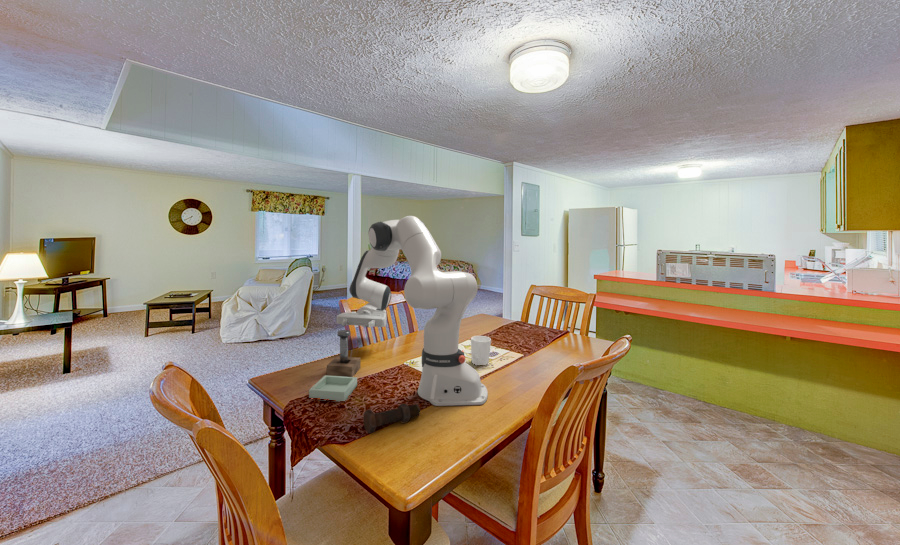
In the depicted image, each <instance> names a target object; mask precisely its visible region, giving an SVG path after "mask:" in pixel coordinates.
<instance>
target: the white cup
mask: <svg viewBox="0 0 900 545" xmlns="http://www.w3.org/2000/svg"><path fill="white" fill-rule="evenodd" d="M491 344H492V339H491V337H489V336H485V335H473V336H471V338H470V352H471V353H470V356H471V363H473V364H472V365H474V364H475V365H474V366H477V365H485V366H487V365H486V364H488V363H489V364H490V354H491V353H490V352H491ZM489 364H488V365H489Z"/></svg>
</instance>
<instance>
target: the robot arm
mask: <svg viewBox="0 0 900 545" xmlns="http://www.w3.org/2000/svg"><path fill="white" fill-rule="evenodd" d="M368 229H369V230H368V242H369V244H370V246H371V249H369V250H366V251H364V253H363V254H362V256H361V257H360V259H359V263H358V265H357V268H356V270H355V274H354V276H353V280H352V281H351V283H350V286H349V288H348V289H349V290H348V291H349V294H350V295H351V297H352V298H355V299H359V300H362V301H365V302H366V304H365V305H363V306H362V307H360V308H359V309H358V310H357V311H356V312H342V313H340V314H337V315H336V324H337V325H341V326H342V327H347V326H358V327H360V326H361V327H363V328H372V327H374V328H375V327H376V328H385V327H386V326H387V316H388V315H387V310H386V309H387V308H388V306H389V304H390V302H391V299H392V291H391V288H390V287H389V286H388V285H386V284H384V283H380V282H377V281H374V280H373V279H369V278H368V277H367V273H368V269H387V268H389V267H391V266H393V265H394V264H395V263H396V261H397V260H398V257H399V253H400V250H402V252H403V254H404V256H405V258H406V261H407V263H408V264H409V268H410V277H409V278H408V279H407V281H406V283H405V285H404V289H403V291H404V292H403V295H404V299H405V301H406V303H407V304H408V305H409V306H410V308H412V309H419V310H433V309H435V312H434V313H433V315H432V317H430V318H429V319H428V320H427V321H426V323H425V324H424V327H423V348H422V349H421V350H422V351H421V367H422V368H421V369H422V370H421V376H420V381H419V384H418V389H417V395H418V396H419V397H420V398H422V399H423V400H425V401H427V402H429V403H431V405H432V406H435V407H437V406H438V407H443V406H477V405H478V406H479V405H484V404H485V403H487V402H486V401H487V400H488V397H489V395H488V389H487V388H488V387H487V386H486V385H485V384H484V383H482V382H481V377H480V374H479V372H478V371H477V370H476V369H475V368H474V367H472V366H471V365H470V364H468V363H467V362H466V357H465V356H466V355H465V351H464V349H462V350H461V349H459V341H460V340H459V338H460V328H461V325H462V324H461V323H462V320H463V317H464V314H465V312H466V310H467V308H468V307H469V305H470V303H471V302H472V301H473V300H474V299H475V298H476V296H477V294H478V290H479V289H478V288H479V286H478V283H477V282H478V281H477V280H476V277H475V276H474V275H473V274H471V273H469V272H466V271H460V270H455V271H454V270H451V271H441V270H439V269H438V265H439V264H441V259H442V251H441V249H440V247H439V246H438V244H437V243H436V240H435V239H434V237H433V236H432V234H431V232H430V231H429V229H428V228H427V226H426V224H425V222H424V221H423V220H421V219H419V217H417V216H414V215H407V216H404V217H402V218H400V219H390V220H385V221H377V222H374V223H373V224H372V223H371V225H370V227H369V228H368ZM367 302H368V303H367Z"/></svg>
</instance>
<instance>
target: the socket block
mask: <svg viewBox="0 0 900 545" xmlns="http://www.w3.org/2000/svg"><path fill="white" fill-rule="evenodd" d="M360 369H361V357H352V356H348V364H343V363H340V355H339V356H336V357H334V358H333V359H332V360H331V361H330V362H329V363H328V364H326V375H328V376H344V377H355V375H357V374H356V373H357V372H358V371H359V370H360Z"/></svg>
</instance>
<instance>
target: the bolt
mask: <svg viewBox="0 0 900 545" xmlns="http://www.w3.org/2000/svg"><path fill="white" fill-rule="evenodd" d="M420 415H421V408H420V406H419V404H412V405H407V404H406V403H400V404H399V405H398V406H397V408H393V409H389V410H385V411H379V412H374V411H373V410H372V409H371V408H369V409H366V410H365V411H364V412H363V426H364V430H365V432H367V434H374V433H375V431H376V428H378V427H380V426H384V425H388V424H392V423H396V422H401V423H403V424H405V423H408V422H409V421H410V419H411V418H412V419H413V418H416V417H419V416H420Z"/></svg>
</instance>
